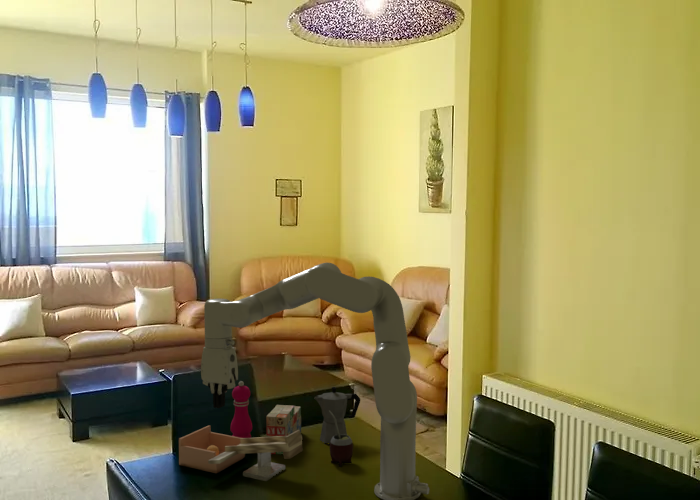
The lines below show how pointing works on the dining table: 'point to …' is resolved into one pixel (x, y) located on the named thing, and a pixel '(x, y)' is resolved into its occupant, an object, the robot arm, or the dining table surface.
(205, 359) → the robot arm
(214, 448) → the ball
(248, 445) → the tray
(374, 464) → the dining table surface
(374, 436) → the dining table surface
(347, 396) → the coffeepot
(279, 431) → the stack of blocks
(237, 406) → the pepper mill
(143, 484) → the dining table surface
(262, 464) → the pivot stand
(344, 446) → the mate gourd
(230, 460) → the pink open box
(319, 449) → the dining table surface
